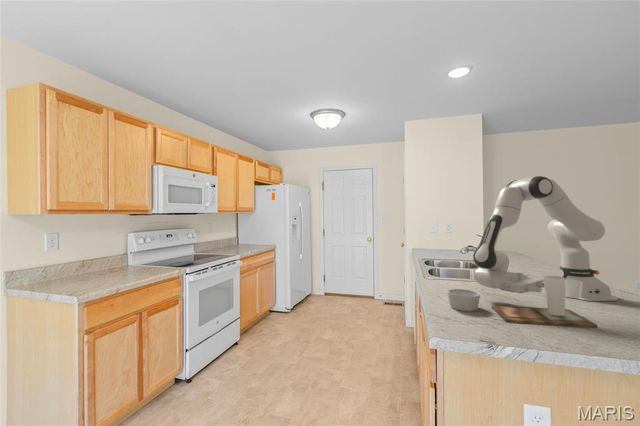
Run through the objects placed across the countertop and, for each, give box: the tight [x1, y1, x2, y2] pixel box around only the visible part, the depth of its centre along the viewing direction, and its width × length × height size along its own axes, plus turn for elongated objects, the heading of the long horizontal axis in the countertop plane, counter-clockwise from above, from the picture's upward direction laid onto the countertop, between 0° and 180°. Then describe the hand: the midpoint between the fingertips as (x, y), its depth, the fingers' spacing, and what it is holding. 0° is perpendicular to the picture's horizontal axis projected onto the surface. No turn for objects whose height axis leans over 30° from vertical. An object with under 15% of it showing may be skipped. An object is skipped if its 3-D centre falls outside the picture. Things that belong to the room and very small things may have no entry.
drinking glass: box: [543, 275, 566, 316], centre depth 120 cm, size 7×7×15 cm
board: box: [491, 305, 598, 329], centre depth 122 cm, size 30×18×1 cm, turn 76°
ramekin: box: [447, 288, 481, 312], centre depth 136 cm, size 13×13×7 cm
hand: (546, 288), depth 124 cm, fingers open, 8 cm apart
